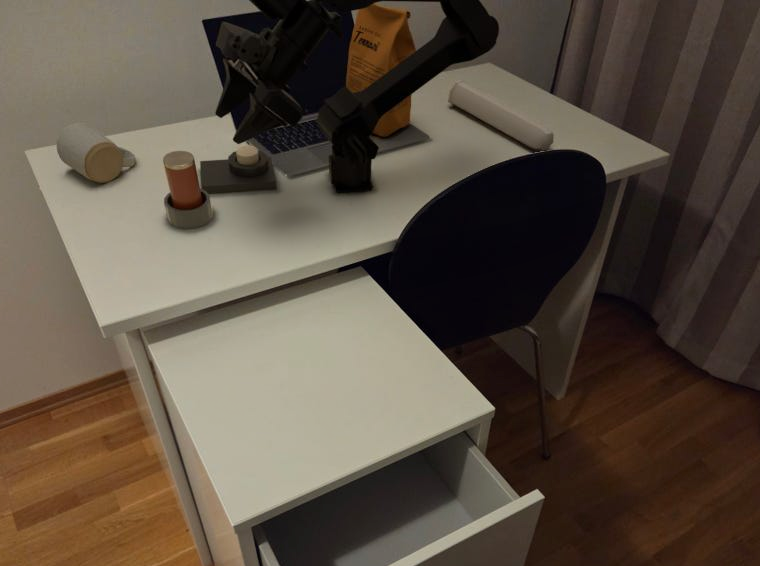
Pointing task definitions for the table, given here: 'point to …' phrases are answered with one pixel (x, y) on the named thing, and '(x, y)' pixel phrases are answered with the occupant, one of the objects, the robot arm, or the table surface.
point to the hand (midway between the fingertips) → (226, 128)
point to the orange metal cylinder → (182, 180)
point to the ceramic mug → (92, 153)
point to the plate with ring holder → (237, 175)
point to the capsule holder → (189, 213)
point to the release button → (247, 155)
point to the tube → (501, 116)
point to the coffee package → (380, 57)
